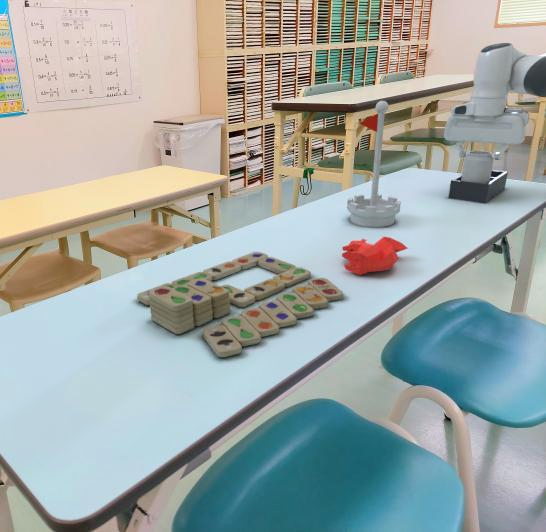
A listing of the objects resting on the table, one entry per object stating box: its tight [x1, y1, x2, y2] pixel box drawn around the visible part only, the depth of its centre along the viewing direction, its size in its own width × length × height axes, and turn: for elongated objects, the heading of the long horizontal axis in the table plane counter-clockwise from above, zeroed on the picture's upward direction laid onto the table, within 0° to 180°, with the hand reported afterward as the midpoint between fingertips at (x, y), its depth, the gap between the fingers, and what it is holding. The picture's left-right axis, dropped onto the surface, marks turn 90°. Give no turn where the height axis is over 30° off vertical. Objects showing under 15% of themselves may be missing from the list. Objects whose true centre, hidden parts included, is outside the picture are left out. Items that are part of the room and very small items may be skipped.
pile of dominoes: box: [136, 251, 344, 358], centre depth 95 cm, size 35×27×6 cm
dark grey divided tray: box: [448, 169, 509, 204], centre depth 154 cm, size 10×19×5 cm, turn 138°
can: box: [461, 150, 495, 184], centre depth 150 cm, size 8×8×12 cm
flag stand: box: [346, 100, 402, 228], centre depth 130 cm, size 13×13×30 cm
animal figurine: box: [341, 236, 409, 276], centre depth 108 cm, size 12×15×5 cm
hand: (479, 158), depth 148 cm, fingers open, 8 cm apart
